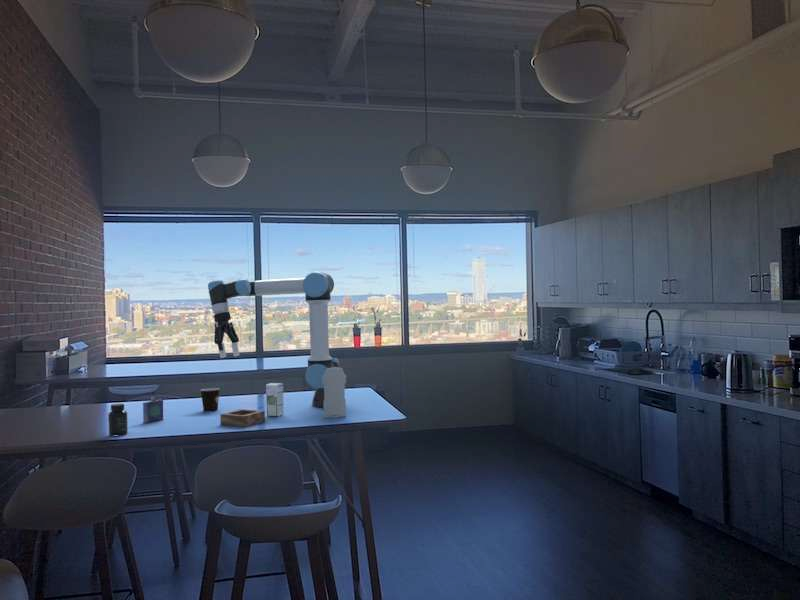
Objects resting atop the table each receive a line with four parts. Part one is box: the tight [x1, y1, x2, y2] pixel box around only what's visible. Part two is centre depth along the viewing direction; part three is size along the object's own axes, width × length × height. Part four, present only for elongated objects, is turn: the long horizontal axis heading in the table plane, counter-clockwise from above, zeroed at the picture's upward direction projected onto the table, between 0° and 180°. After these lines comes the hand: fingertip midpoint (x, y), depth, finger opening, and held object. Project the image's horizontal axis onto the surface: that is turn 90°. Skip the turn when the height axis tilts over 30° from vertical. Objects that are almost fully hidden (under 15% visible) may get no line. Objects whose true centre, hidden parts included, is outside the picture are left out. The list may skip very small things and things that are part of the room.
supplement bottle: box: [107, 403, 129, 436], centre depth 250 cm, size 7×7×12 cm
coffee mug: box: [200, 387, 220, 412], centre depth 300 cm, size 12×9×10 cm
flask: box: [142, 396, 164, 424], centre depth 275 cm, size 9×3×11 cm, turn 142°
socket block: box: [219, 408, 266, 428], centre depth 267 cm, size 13×13×4 cm
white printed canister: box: [265, 382, 285, 417], centre depth 283 cm, size 6×6×14 cm
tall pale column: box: [322, 367, 347, 419], centre depth 277 cm, size 11×4×22 cm, turn 102°
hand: (230, 356), depth 297 cm, fingers open, 13 cm apart
